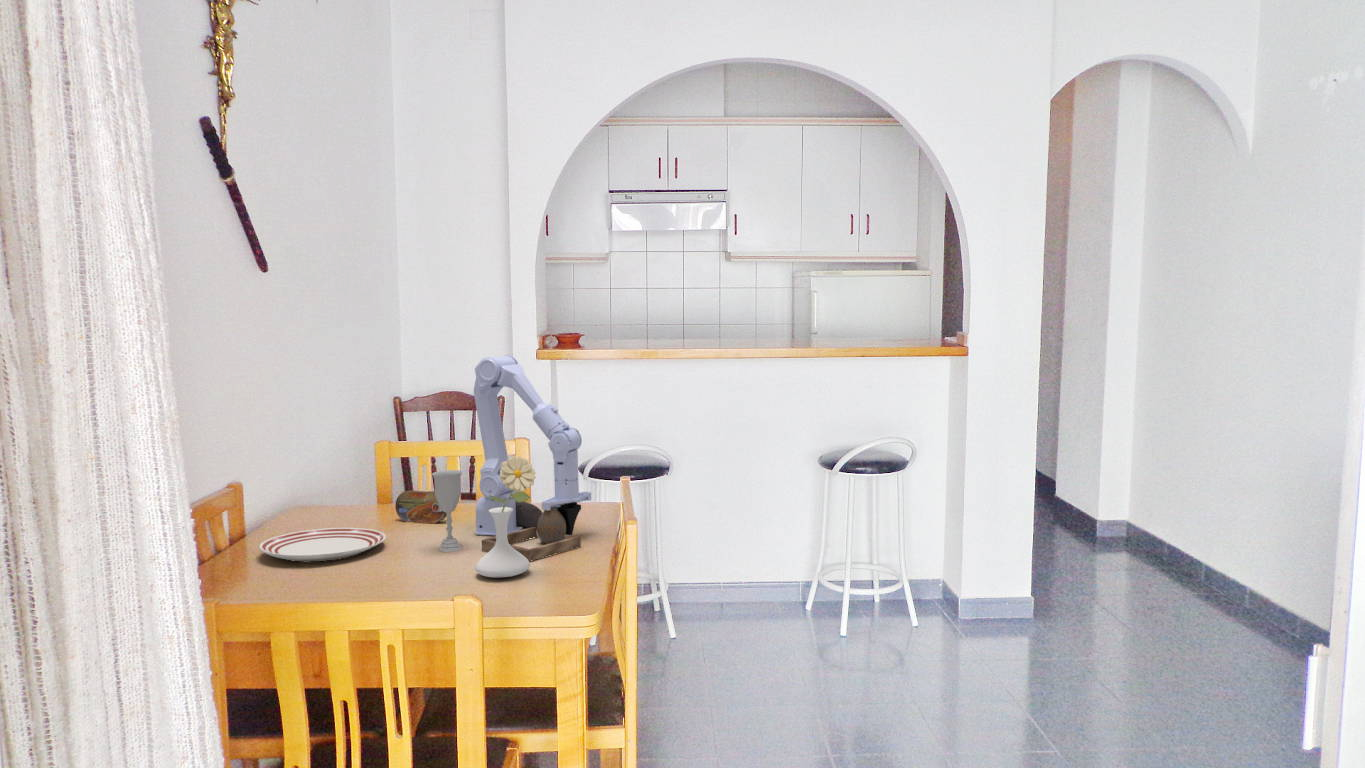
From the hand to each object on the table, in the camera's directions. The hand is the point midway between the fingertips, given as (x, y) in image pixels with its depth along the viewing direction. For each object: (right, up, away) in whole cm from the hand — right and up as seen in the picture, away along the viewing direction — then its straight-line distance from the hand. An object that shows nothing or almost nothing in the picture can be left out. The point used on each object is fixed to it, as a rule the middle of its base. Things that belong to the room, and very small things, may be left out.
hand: (568, 534), depth 221 cm
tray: (-7, -2, -9) cm, 11 cm away
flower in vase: (-9, -4, -29) cm, 30 cm away
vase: (-3, -2, -3) cm, 5 cm away
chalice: (-27, -2, -8) cm, 28 cm away
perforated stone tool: (-14, -1, +13) cm, 19 cm away
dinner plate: (-56, -3, -8) cm, 56 cm away
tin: (-41, 0, +21) cm, 46 cm away
